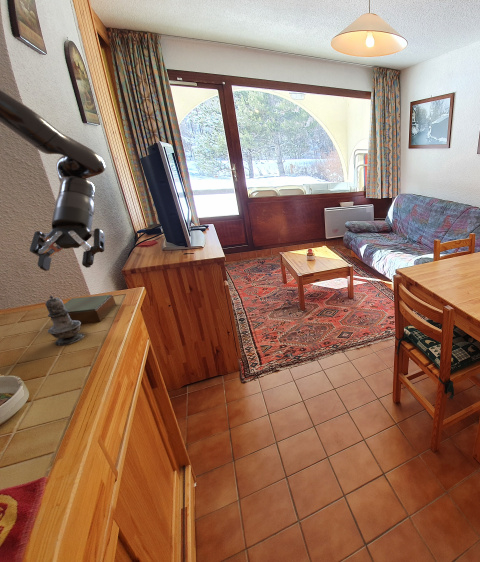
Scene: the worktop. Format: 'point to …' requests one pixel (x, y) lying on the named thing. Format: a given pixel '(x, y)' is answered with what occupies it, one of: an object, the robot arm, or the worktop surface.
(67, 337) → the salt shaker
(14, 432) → the worktop surface
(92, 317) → the walnut stand
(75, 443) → the worktop surface
